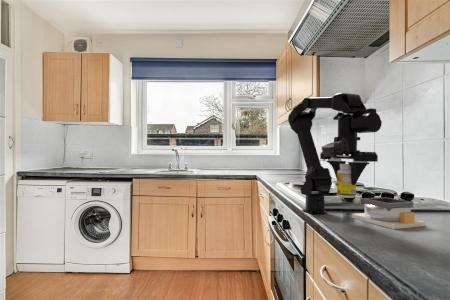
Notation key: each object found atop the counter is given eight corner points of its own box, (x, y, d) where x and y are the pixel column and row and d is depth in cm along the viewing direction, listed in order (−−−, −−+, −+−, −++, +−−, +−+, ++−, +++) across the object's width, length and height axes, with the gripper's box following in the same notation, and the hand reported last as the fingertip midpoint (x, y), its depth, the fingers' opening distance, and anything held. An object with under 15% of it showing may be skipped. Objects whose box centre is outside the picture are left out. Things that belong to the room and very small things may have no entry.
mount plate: (351, 217, 105) (351, 213, 105) (380, 215, 110) (380, 211, 110) (394, 229, 91) (394, 224, 91) (425, 225, 96) (425, 221, 96)
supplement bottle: (337, 194, 103) (338, 163, 103) (355, 196, 101) (356, 164, 101) (335, 197, 98) (336, 163, 98) (355, 198, 96) (356, 164, 96)
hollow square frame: (355, 214, 104) (355, 198, 104) (384, 212, 109) (384, 196, 109) (393, 224, 91) (393, 205, 91) (424, 221, 96) (425, 203, 96)
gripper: (307, 133, 105) (306, 181, 105) (349, 131, 88) (348, 188, 88) (334, 135, 109) (333, 180, 109) (379, 133, 92) (378, 187, 92)
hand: (346, 183), depth 99 cm, fingers closed on supplement bottle, 6 cm apart
